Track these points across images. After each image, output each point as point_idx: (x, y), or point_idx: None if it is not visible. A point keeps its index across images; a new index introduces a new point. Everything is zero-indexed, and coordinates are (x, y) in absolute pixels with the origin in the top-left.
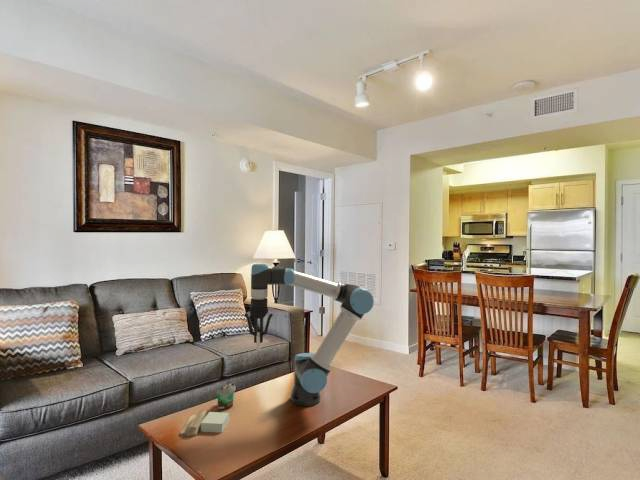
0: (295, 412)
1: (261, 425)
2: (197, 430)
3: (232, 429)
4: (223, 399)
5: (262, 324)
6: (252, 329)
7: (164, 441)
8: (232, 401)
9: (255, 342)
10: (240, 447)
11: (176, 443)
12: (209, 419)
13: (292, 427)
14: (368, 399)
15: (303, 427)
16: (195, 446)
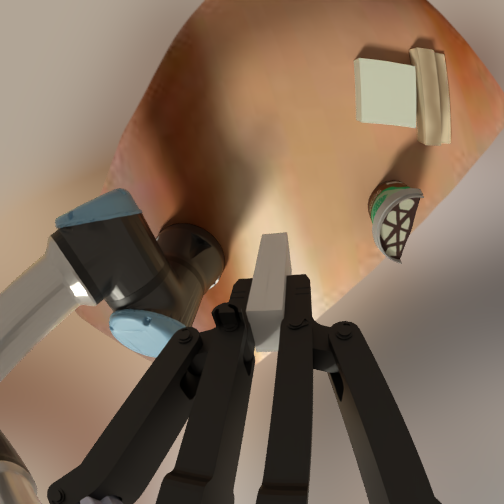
0: (192, 188)
1: (260, 104)
2: (413, 59)
3: (332, 76)
4: (396, 189)
5: (187, 429)
6: (338, 388)
7: (457, 36)
8: (371, 206)
9: (296, 276)
10: (280, 2)
11: (432, 23)
12: (401, 83)
13: (178, 111)
14: None
15: (154, 118)
16: (388, 6)
